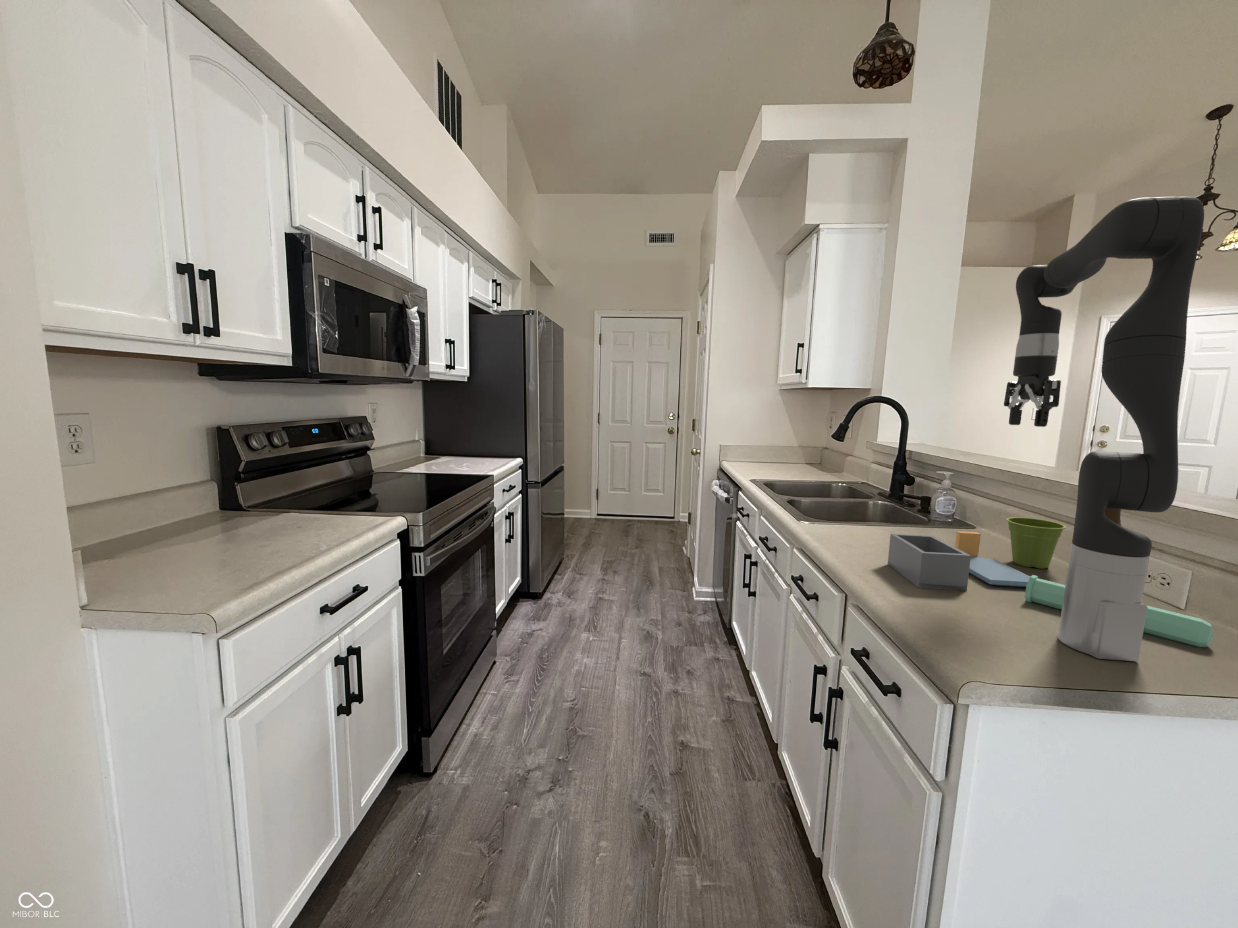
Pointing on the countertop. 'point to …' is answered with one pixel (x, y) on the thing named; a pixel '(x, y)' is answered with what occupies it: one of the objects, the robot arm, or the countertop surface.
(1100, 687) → the countertop surface
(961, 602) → the countertop surface
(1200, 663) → the countertop surface
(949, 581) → the storage box
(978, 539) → the lid
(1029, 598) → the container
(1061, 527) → the plant pot
